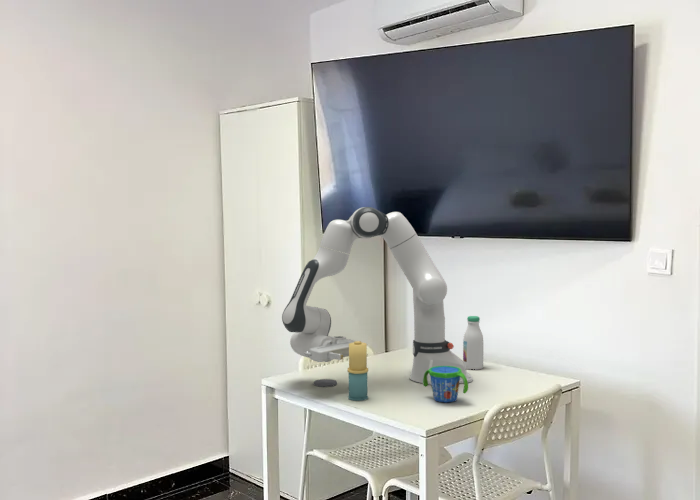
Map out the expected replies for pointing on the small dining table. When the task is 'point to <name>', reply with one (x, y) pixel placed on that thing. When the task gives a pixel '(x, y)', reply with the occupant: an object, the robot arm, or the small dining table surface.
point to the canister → (358, 387)
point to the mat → (325, 382)
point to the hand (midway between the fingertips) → (352, 354)
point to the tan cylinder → (357, 357)
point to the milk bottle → (473, 344)
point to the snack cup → (445, 382)
